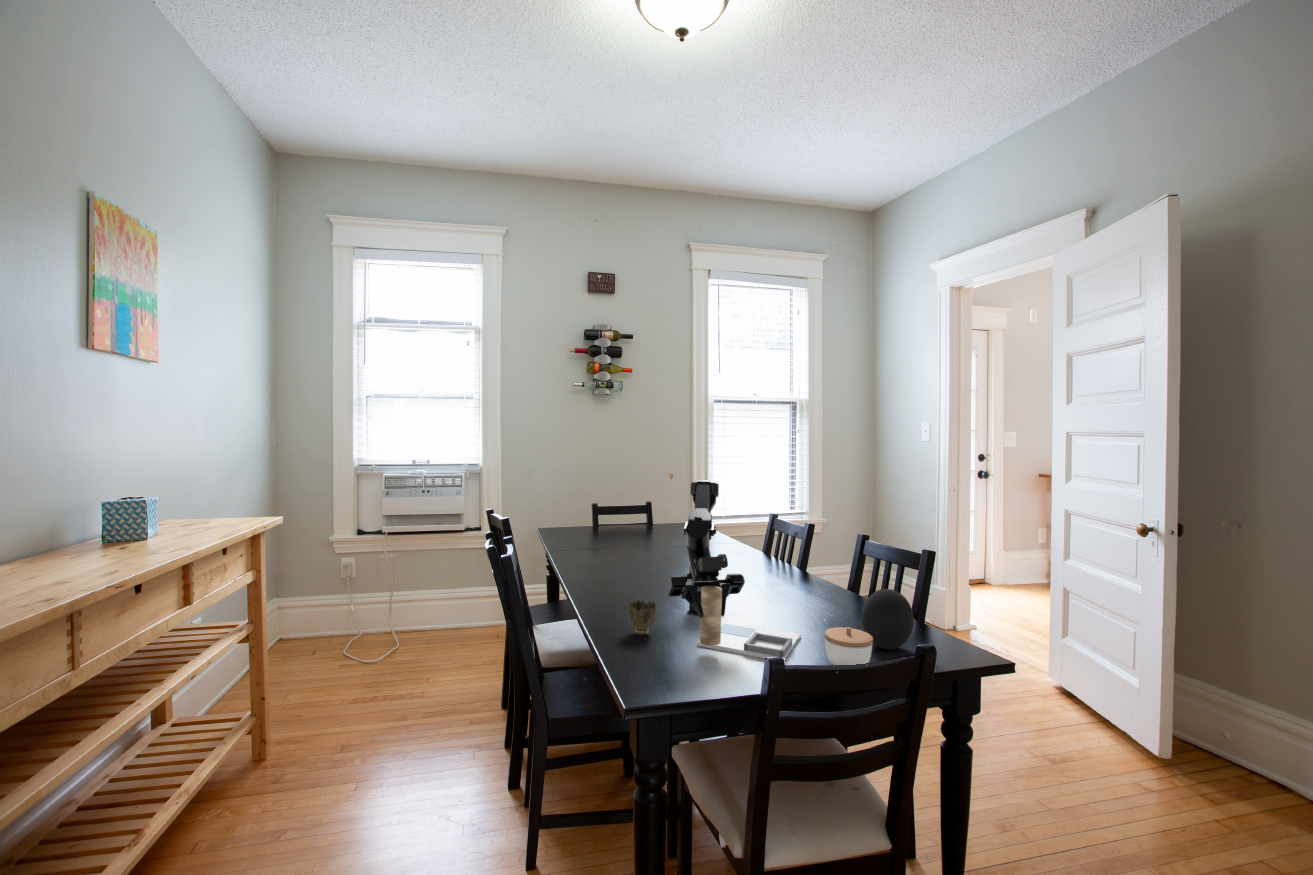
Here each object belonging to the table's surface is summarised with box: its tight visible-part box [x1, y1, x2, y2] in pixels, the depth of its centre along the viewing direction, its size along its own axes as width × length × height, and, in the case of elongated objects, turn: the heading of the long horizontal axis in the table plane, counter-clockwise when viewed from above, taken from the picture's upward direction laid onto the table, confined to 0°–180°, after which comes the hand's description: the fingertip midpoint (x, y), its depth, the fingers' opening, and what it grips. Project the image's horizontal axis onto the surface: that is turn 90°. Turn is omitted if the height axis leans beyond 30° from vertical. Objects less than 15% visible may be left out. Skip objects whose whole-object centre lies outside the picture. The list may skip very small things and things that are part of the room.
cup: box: [628, 599, 657, 636], centre depth 160 cm, size 8×7×8 cm
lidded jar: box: [824, 626, 873, 666], centre depth 140 cm, size 11×11×9 cm
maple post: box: [699, 586, 722, 646], centre depth 146 cm, size 5×5×13 cm
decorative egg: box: [861, 588, 915, 650], centre depth 153 cm, size 12×12×15 cm
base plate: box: [696, 620, 802, 660], centre depth 156 cm, size 22×19×2 cm
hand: (712, 616), depth 145 cm, fingers closed on maple post, 5 cm apart
